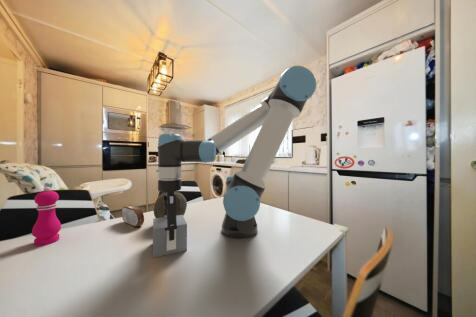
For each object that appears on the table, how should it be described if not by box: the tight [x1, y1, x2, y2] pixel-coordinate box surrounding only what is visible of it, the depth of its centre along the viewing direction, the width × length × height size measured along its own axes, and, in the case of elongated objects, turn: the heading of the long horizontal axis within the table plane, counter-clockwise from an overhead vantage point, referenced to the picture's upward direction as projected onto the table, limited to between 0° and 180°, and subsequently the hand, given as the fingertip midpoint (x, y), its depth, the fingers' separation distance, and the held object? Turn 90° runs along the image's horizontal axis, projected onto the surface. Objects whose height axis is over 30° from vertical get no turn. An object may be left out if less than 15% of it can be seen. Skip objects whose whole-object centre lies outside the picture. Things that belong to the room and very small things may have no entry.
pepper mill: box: [31, 186, 62, 247], centre depth 64 cm, size 7×7×20 cm
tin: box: [121, 204, 145, 228], centre depth 80 cm, size 15×3×8 cm, turn 58°
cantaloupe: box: [153, 191, 188, 218], centre depth 81 cm, size 14×14×15 cm
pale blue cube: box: [152, 215, 188, 258], centre depth 61 cm, size 10×10×9 cm
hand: (169, 240), depth 61 cm, fingers open, 13 cm apart
